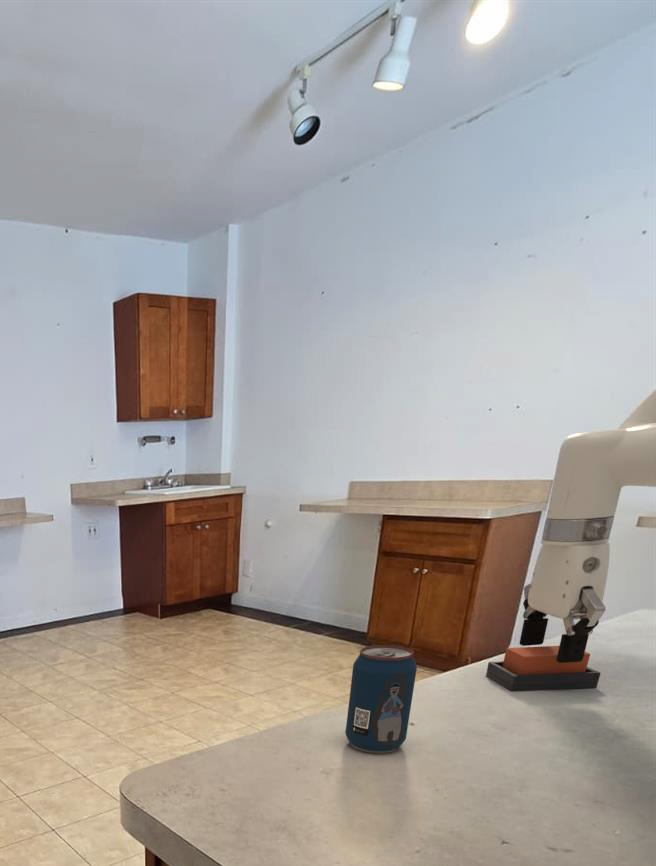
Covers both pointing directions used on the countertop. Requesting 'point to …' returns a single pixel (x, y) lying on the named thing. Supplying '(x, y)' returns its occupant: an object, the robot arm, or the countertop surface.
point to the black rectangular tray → (542, 679)
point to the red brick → (540, 661)
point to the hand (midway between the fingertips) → (549, 652)
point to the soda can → (380, 698)
